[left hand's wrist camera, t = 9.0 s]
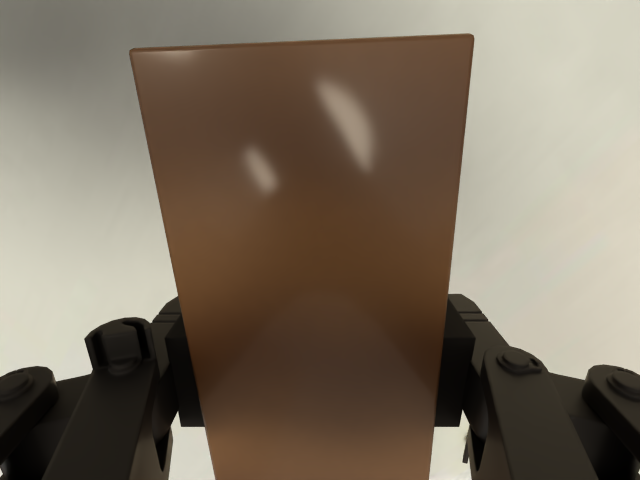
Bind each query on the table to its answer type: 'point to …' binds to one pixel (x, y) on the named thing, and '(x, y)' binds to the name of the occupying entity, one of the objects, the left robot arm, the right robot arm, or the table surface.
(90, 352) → the left robot arm
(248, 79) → the post
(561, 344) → the table surface
